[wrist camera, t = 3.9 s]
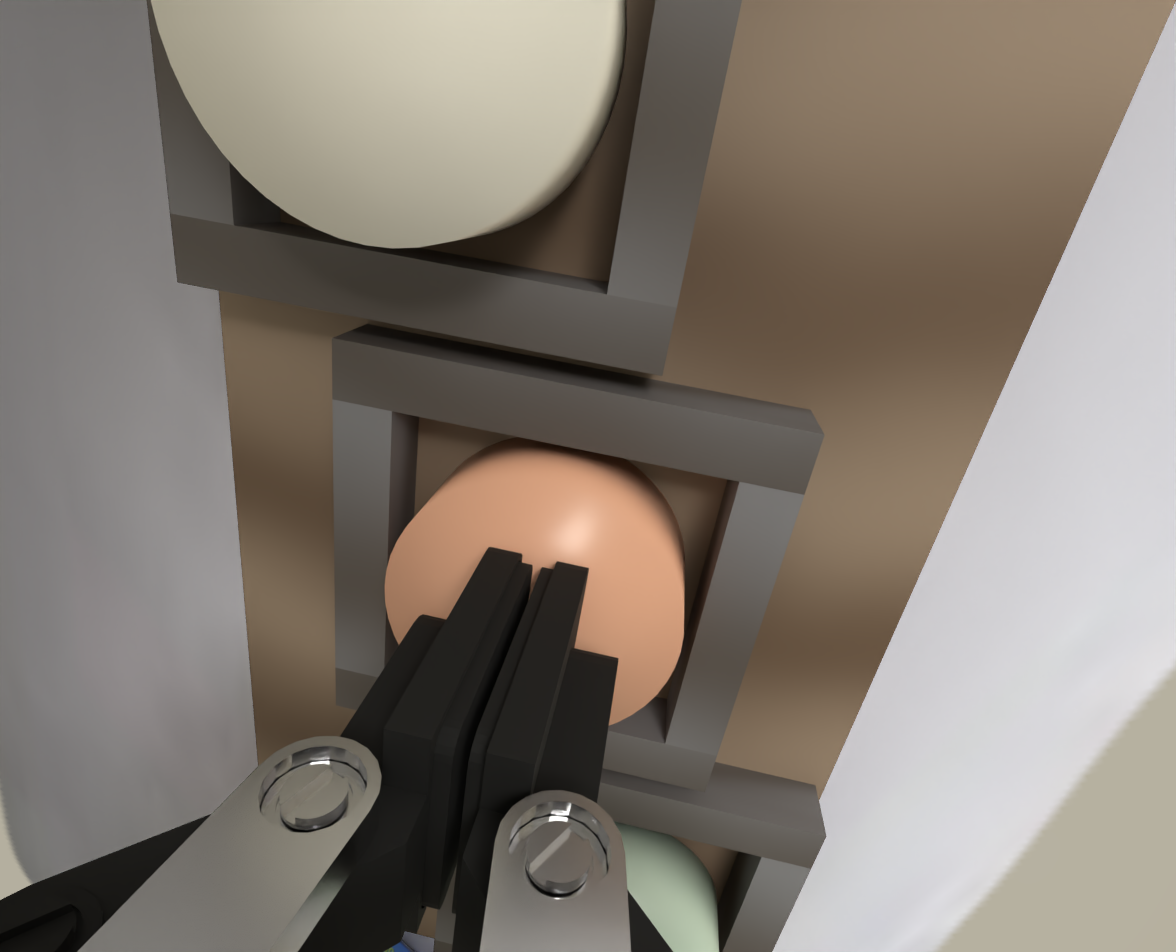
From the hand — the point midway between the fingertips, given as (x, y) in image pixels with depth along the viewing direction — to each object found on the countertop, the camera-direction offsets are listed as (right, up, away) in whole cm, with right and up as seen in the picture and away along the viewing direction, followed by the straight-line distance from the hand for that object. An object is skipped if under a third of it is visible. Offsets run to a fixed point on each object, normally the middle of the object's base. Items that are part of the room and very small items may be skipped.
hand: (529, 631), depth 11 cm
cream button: (-1, +8, -2) cm, 9 cm away
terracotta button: (0, +1, +2) cm, 2 cm away
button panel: (+1, +2, +4) cm, 4 cm away
